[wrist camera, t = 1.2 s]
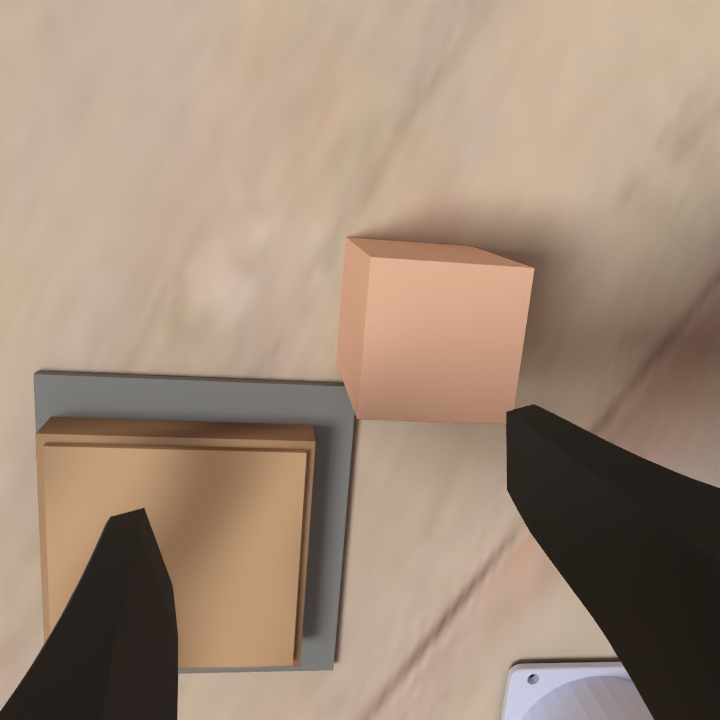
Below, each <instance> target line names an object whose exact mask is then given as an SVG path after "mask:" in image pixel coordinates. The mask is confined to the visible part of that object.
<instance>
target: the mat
mask: <svg viewBox="0 0 720 720" xmlns="http://www.w3.org/2000/svg"><path fill="white" fill-rule="evenodd" d="M34 395H35V419H36V433H37V431H38V430H39V429H40V428H41V427H42V426H43V425H44V424H45V423H46V421H47V420H48V419H49V418H50V417H77V418H109V419H141V420H173V421H205V422H237V423H269V424H301V425H313V430H314V435H315V441H316V442H315V457H314V471H313V486H312V500H311V515H310V529H309V544H308V558H307V573H306V587H305V602H304V616H303V631H302V645H301V660H300V667H261V668H211V669H178V673H221V672H269V671H317V670H333V667H334V655H335V643H336V631H337V619H338V607H339V595H340V583H341V571H342V559H343V548H344V536H345V524H346V512H347V500H348V488H349V476H350V464H351V452H352V440H353V428H354V416H355V412H354V409H353V407H352V404H351V401H350V398H349V396H348V393H347V390H346V387H345V385H344V383H326V382H301V381H276V380H251V379H227V378H202V377H177V376H152V375H128V374H103V373H78V372H54V371H37V372H36V373H34Z"/></svg>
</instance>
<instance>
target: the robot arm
mask: <svg viewBox="0 0 720 720" xmlns="http://www.w3.org/2000/svg"><path fill="white" fill-rule="evenodd" d="M506 438H507V490H508V492H509V494H510V496H511V498H512V500H513V502H514V504H515V506H516V508H517V509H518V511H519V513H520V515H521V517H522V518H523V520H524V522H525V524H526V526H527V527H528V529H529V531H530V532H531V534H532V535H533V537H534V538H535V539H536V541H537V542H538V544H539V545H540V546H541V548H542V549H543V550H544V552H545V553H546V555H547V556H548V557H549V559H550V560H551V561H552V563H553V564H554V566H555V567H556V568H557V570H558V571H559V572H560V574H561V575H562V576H563V578H564V579H565V580H566V582H567V583H568V584H569V586H570V587H571V589H572V590H573V591H574V593H575V594H576V595H577V597H578V598H579V599H580V601H581V602H582V603H583V605H584V606H585V607H586V609H587V610H588V612H589V613H590V614H591V616H592V617H593V618H594V620H595V621H596V623H597V624H598V626H599V627H600V629H601V630H602V632H603V633H604V635H605V636H606V638H607V639H608V641H609V643H610V644H611V646H612V648H613V649H614V651H615V653H616V654H617V656H618V658H619V659H620V661H621V662H583V663H534V664H517V665H515V666H513V667H512V668H511V669H510V670H509V672H508V676H507V683H506V689H505V695H504V701H503V708H502V714H501V720H720V488H717V487H715V486H712V485H709V484H706V483H703V482H700V481H697V480H695V479H692V478H689V477H687V476H684V475H682V474H679V473H677V472H674V471H672V470H669V469H667V468H665V467H662V466H660V465H658V464H655V463H653V462H651V461H648V460H646V459H644V458H642V457H639V456H637V455H635V454H633V453H631V452H629V451H627V450H624V449H622V448H620V447H618V446H616V445H614V444H612V443H610V442H608V441H606V440H604V439H602V438H600V437H598V436H596V435H594V434H592V433H590V432H588V431H586V430H584V429H582V428H580V427H578V426H576V425H574V424H572V423H571V422H569V421H567V420H565V419H563V418H561V417H559V416H557V415H555V414H553V413H551V412H549V411H547V410H545V409H543V408H541V407H539V406H536V405H534V404H533V405H530V406H526V407H522V408H518V409H515V410H511V411H507V412H506ZM532 674H535V675H534V676H533V677H531V678H528V677H529V676H530V675H532ZM177 700H178V629H177V619H176V609H175V601H174V592H173V585H172V582H171V579H170V577H169V574H168V571H167V568H166V566H165V563H164V560H163V558H162V555H161V552H160V549H159V547H158V544H157V541H156V538H155V536H154V533H153V530H152V527H151V525H150V522H149V519H148V517H147V514H146V511H145V508H141V509H138V510H134V511H130V512H126V513H122V514H119V515H115V516H111V517H110V518H109V520H108V521H107V522H106V524H105V526H104V529H103V531H102V533H101V536H100V538H99V540H98V542H97V545H96V547H95V549H94V551H93V553H92V555H91V558H90V560H89V562H88V564H87V566H86V568H85V570H84V572H83V574H82V576H81V578H80V580H79V582H78V584H77V586H76V588H75V590H74V592H73V594H72V596H71V598H70V600H69V601H68V603H67V605H66V607H65V609H64V611H63V613H62V615H61V616H60V618H59V620H58V622H57V623H56V625H55V627H54V629H53V630H52V632H51V634H50V635H49V637H48V639H47V640H46V642H45V644H44V646H43V647H42V649H41V651H40V652H39V654H38V656H37V657H36V659H35V661H34V662H33V664H32V665H31V667H30V668H29V670H28V672H27V673H26V675H25V676H24V678H23V679H22V681H21V682H20V684H19V685H18V687H17V688H16V690H15V691H14V693H13V694H12V695H11V697H10V698H9V700H8V701H7V703H6V704H5V705H4V707H3V708H2V710H1V711H0V720H177Z"/></svg>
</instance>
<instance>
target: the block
mask: <svg viewBox="0 0 720 720" xmlns="http://www.w3.org/2000/svg"><path fill="white" fill-rule="evenodd" d="M533 275H534V268H533V267H530V266H527V265H524V264H521V263H519V262H516V261H513V260H510V259H507V258H504V257H501V256H499V255H496V254H493V253H490V252H487V251H484V250H481V249H479V248H476V247H473V246H463V245H449V244H435V243H421V242H407V241H393V240H379V239H365V238H351V237H346V242H345V256H344V269H343V283H342V296H341V310H340V323H339V336H338V350H337V365H338V368H339V371H340V374H341V376H342V379H343V382H344V385H345V387H346V390H347V393H348V396H349V398H350V401H351V404H352V407H353V409H354V412H355V415H356V418H357V419H361V420H392V421H423V422H454V423H485V424H506V412H507V411H511V410H514V407H515V400H516V393H517V386H518V379H519V372H520V365H521V358H522V351H523V344H524V337H525V331H526V324H527V317H528V310H529V303H530V296H531V289H532V282H533Z"/></svg>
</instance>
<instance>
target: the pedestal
mask: <svg viewBox="0 0 720 720" xmlns="http://www.w3.org/2000/svg"><path fill="white" fill-rule="evenodd" d="M315 442H316V441H315V435H314V430H313V425H301V424H269V423H237V422H205V421H173V420H141V419H109V418H77V417H50V418H49V419H48V420H47V421H46V423H45V424H44V425H43V426H42V427H41V428H40V429H39V430H38V431H37V433H36V457H37V481H38V504H39V528H40V552H41V576H42V599H43V623H44V644H45V642H46V640H47V639H48V637H49V635H50V634H51V632H52V630H53V629H54V627H55V625H56V623H57V622H58V620H59V618H60V616H61V615H62V613H63V611H64V609H65V607H66V605H67V603H68V601H69V600H70V598H71V596H72V594H73V592H74V590H75V588H76V586H77V584H78V582H79V580H80V578H81V576H82V574H83V572H84V570H85V568H86V566H87V564H88V562H89V560H90V558H91V555H92V553H93V551H94V549H95V547H96V545H97V542H98V540H99V538H100V536H101V533H102V531H103V529H104V526H105V524H106V522H107V521H108V520H109V518H110V517H111V516H115V515H119V514H122V513H126V512H130V511H134V510H138V509H141V508H145V511H146V514H147V517H148V519H149V522H150V525H151V527H152V530H153V533H154V536H155V538H156V541H157V544H158V547H159V549H160V552H161V555H162V558H163V560H164V563H165V566H166V568H167V571H168V574H169V577H170V579H171V582H172V585H173V592H174V601H175V609H176V619H177V629H178V669H211V668H261V667H300V660H301V645H302V631H303V616H304V602H305V587H306V573H307V558H308V544H309V529H310V515H311V500H312V486H313V471H314V457H315Z"/></svg>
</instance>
